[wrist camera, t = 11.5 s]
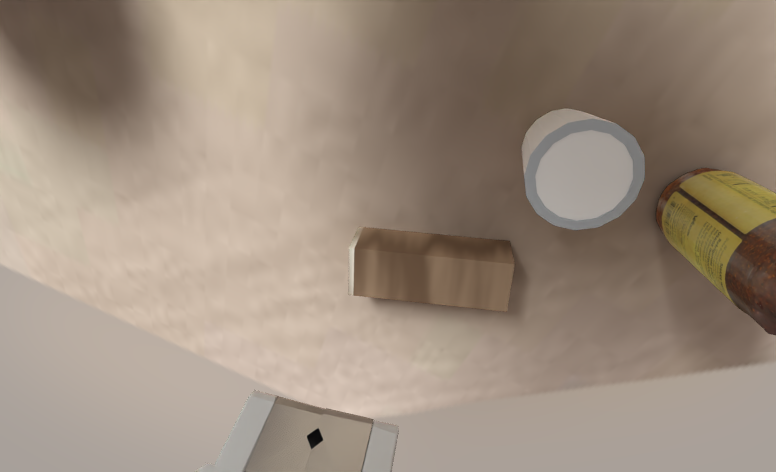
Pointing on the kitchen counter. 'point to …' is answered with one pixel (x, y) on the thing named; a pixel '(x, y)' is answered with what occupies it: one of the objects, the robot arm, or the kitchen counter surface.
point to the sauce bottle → (726, 236)
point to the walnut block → (431, 268)
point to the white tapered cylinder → (580, 169)
